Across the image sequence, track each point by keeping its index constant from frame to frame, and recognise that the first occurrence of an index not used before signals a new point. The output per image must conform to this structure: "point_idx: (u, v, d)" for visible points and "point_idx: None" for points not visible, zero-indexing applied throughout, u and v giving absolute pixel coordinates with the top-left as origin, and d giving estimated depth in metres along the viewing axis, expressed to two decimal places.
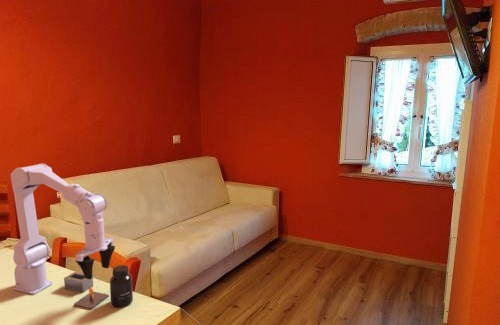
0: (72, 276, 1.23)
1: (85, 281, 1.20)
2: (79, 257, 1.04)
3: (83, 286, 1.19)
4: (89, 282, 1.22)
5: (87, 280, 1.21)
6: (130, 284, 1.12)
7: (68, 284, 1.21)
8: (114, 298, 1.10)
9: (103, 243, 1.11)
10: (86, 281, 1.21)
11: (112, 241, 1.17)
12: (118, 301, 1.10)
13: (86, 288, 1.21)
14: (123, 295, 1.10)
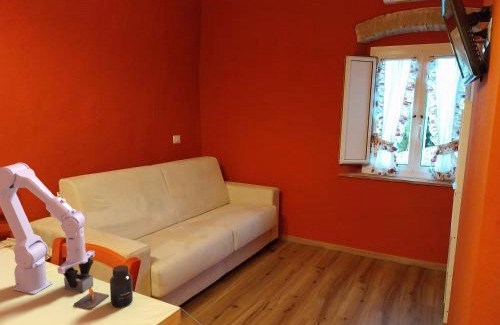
0: None
1: (85, 281, 1.20)
2: (61, 270, 1.14)
3: (83, 286, 1.19)
4: (89, 282, 1.22)
5: (87, 280, 1.21)
6: (130, 284, 1.12)
7: (68, 284, 1.21)
8: (114, 298, 1.10)
9: (84, 256, 1.21)
10: (86, 281, 1.21)
11: (93, 254, 1.27)
12: (118, 301, 1.10)
13: (86, 288, 1.21)
14: (123, 295, 1.10)
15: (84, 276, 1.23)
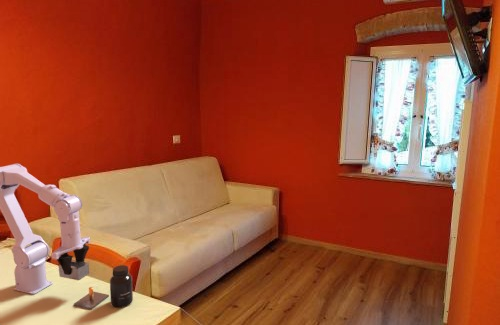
0: None
1: (81, 268, 1.15)
2: (55, 255, 1.09)
3: (78, 274, 1.14)
4: (85, 270, 1.17)
5: (83, 267, 1.16)
6: (130, 284, 1.12)
7: (63, 272, 1.16)
8: (114, 298, 1.10)
9: (79, 242, 1.15)
10: (82, 268, 1.15)
11: (89, 240, 1.22)
12: (118, 301, 1.10)
13: (82, 276, 1.16)
14: (123, 295, 1.10)
15: (80, 264, 1.18)
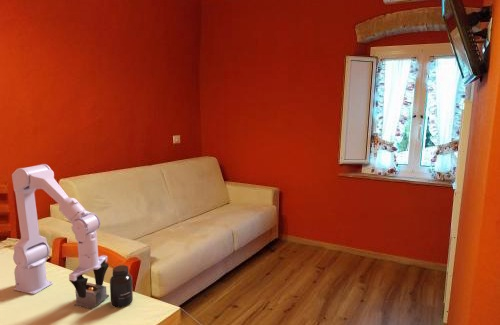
0: None
1: (98, 293, 1.12)
2: (73, 277, 1.05)
3: (96, 298, 1.11)
4: (102, 294, 1.14)
5: (100, 292, 1.13)
6: (130, 284, 1.12)
7: None
8: (114, 298, 1.10)
9: (97, 262, 1.12)
10: (99, 293, 1.12)
11: (106, 259, 1.18)
12: (118, 301, 1.10)
13: (99, 300, 1.12)
14: (123, 295, 1.10)
15: (97, 287, 1.15)
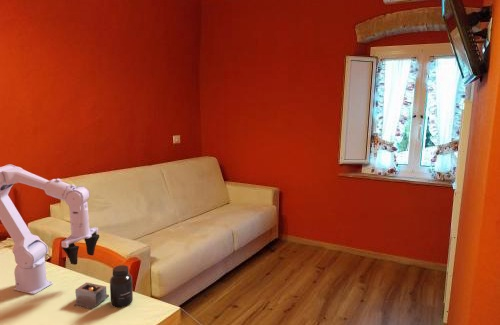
0: (84, 287, 1.15)
1: (98, 293, 1.12)
2: (65, 244, 1.13)
3: (96, 298, 1.11)
4: (102, 294, 1.14)
5: (100, 292, 1.13)
6: (130, 284, 1.12)
7: (80, 296, 1.13)
8: (114, 298, 1.10)
9: (88, 231, 1.19)
10: (99, 293, 1.12)
11: (97, 230, 1.26)
12: (118, 301, 1.10)
13: (99, 300, 1.12)
14: (123, 295, 1.10)
15: (97, 287, 1.15)
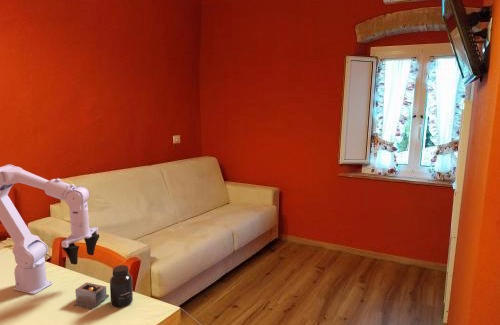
0: (84, 287, 1.15)
1: (98, 293, 1.12)
2: (65, 244, 1.13)
3: (96, 298, 1.11)
4: (102, 294, 1.14)
5: (100, 292, 1.13)
6: (130, 284, 1.12)
7: (80, 296, 1.13)
8: (114, 298, 1.10)
9: (88, 231, 1.19)
10: (99, 293, 1.12)
11: (97, 230, 1.26)
12: (118, 301, 1.10)
13: (99, 300, 1.12)
14: (123, 295, 1.10)
15: (97, 287, 1.15)
